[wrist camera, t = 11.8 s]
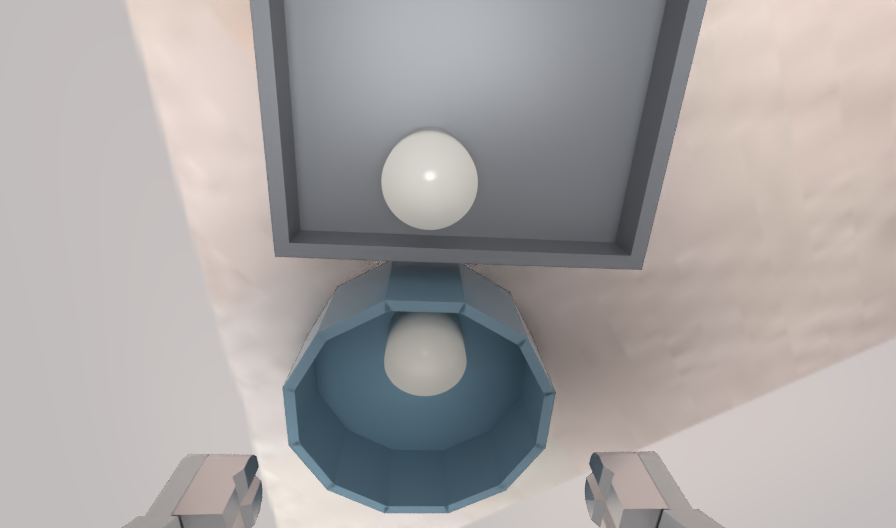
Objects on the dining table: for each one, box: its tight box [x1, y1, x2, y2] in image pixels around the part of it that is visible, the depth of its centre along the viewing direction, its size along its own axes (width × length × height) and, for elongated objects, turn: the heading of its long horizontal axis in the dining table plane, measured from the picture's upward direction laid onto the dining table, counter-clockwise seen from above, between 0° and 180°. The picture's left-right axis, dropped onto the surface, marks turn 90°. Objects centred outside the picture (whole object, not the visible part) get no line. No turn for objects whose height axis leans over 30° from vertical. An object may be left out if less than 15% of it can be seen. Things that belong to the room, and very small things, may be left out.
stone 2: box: [384, 311, 467, 396], centre depth 26 cm, size 5×5×3 cm
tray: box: [250, 0, 707, 270], centre depth 22 cm, size 20×16×3 cm
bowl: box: [283, 261, 556, 513], centre depth 27 cm, size 15×15×6 cm
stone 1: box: [381, 127, 478, 230], centre depth 22 cm, size 5×5×3 cm
